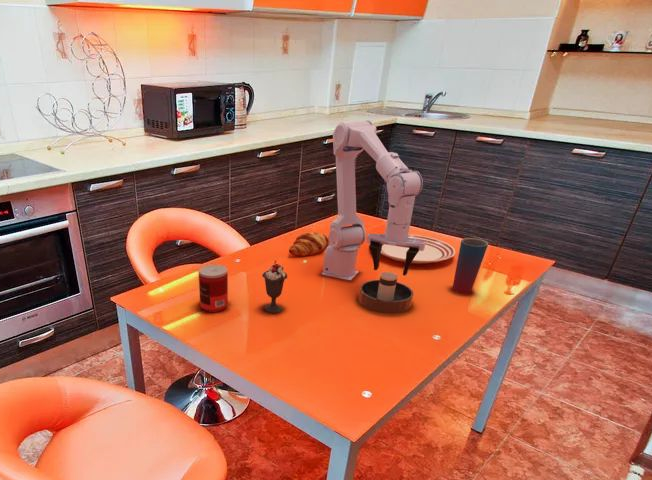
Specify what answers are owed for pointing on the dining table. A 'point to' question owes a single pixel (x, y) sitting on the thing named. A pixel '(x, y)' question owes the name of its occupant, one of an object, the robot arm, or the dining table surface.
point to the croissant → (309, 244)
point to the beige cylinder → (387, 286)
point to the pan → (371, 302)
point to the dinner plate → (430, 254)
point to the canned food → (213, 287)
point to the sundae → (274, 286)
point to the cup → (468, 264)
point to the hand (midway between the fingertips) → (390, 271)
